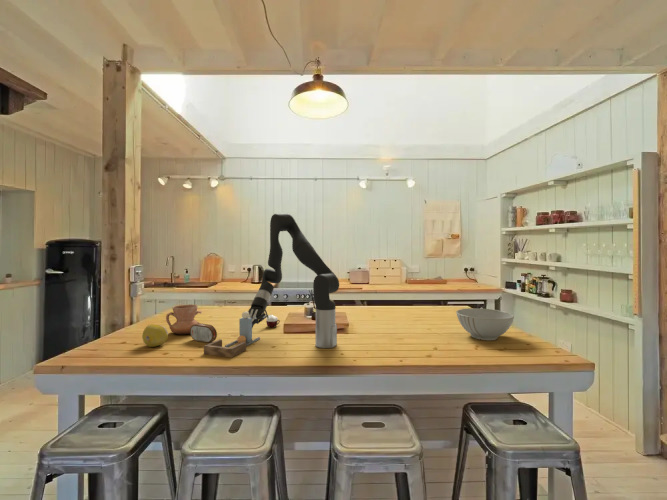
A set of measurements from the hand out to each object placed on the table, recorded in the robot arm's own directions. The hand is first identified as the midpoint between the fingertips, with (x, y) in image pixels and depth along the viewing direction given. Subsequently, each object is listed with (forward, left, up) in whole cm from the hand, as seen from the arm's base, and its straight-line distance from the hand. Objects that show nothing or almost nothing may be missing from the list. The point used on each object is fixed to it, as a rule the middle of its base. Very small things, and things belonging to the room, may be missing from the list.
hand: (248, 329), depth 170 cm
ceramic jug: (+40, -2, -6) cm, 41 cm away
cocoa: (+3, -29, -6) cm, 30 cm away
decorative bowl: (-109, -45, -6) cm, 118 cm away
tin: (+20, +8, -6) cm, 22 cm away
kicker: (0, +2, -5) cm, 6 cm away
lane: (0, +4, -5) cm, 7 cm away
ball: (0, +5, -5) cm, 8 cm away
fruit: (+36, +21, -6) cm, 42 cm away
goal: (0, +17, -5) cm, 18 cm away
